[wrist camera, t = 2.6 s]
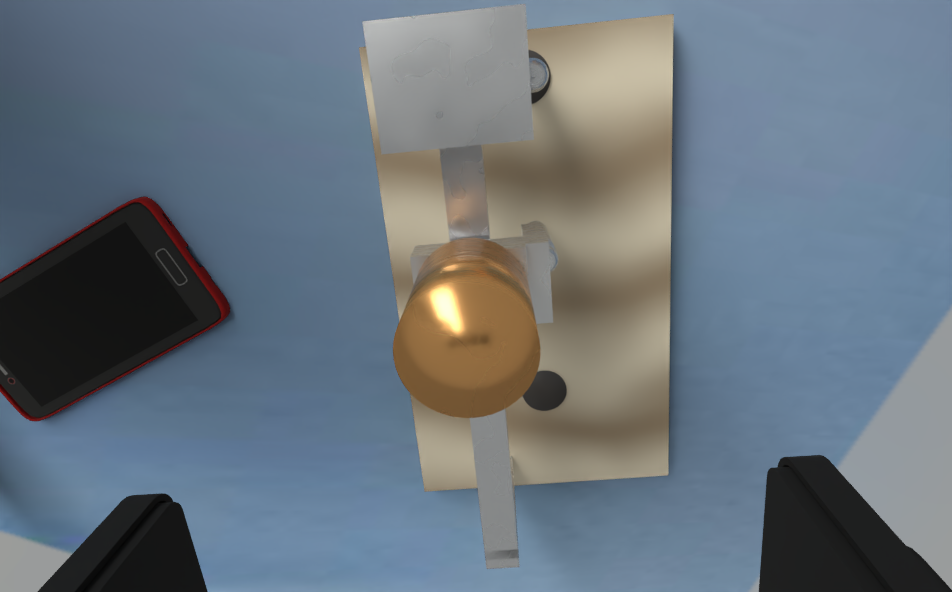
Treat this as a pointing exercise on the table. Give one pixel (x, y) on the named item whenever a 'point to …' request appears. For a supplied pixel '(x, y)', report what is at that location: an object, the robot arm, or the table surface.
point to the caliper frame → (462, 165)
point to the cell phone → (100, 309)
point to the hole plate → (569, 256)
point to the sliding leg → (475, 321)
